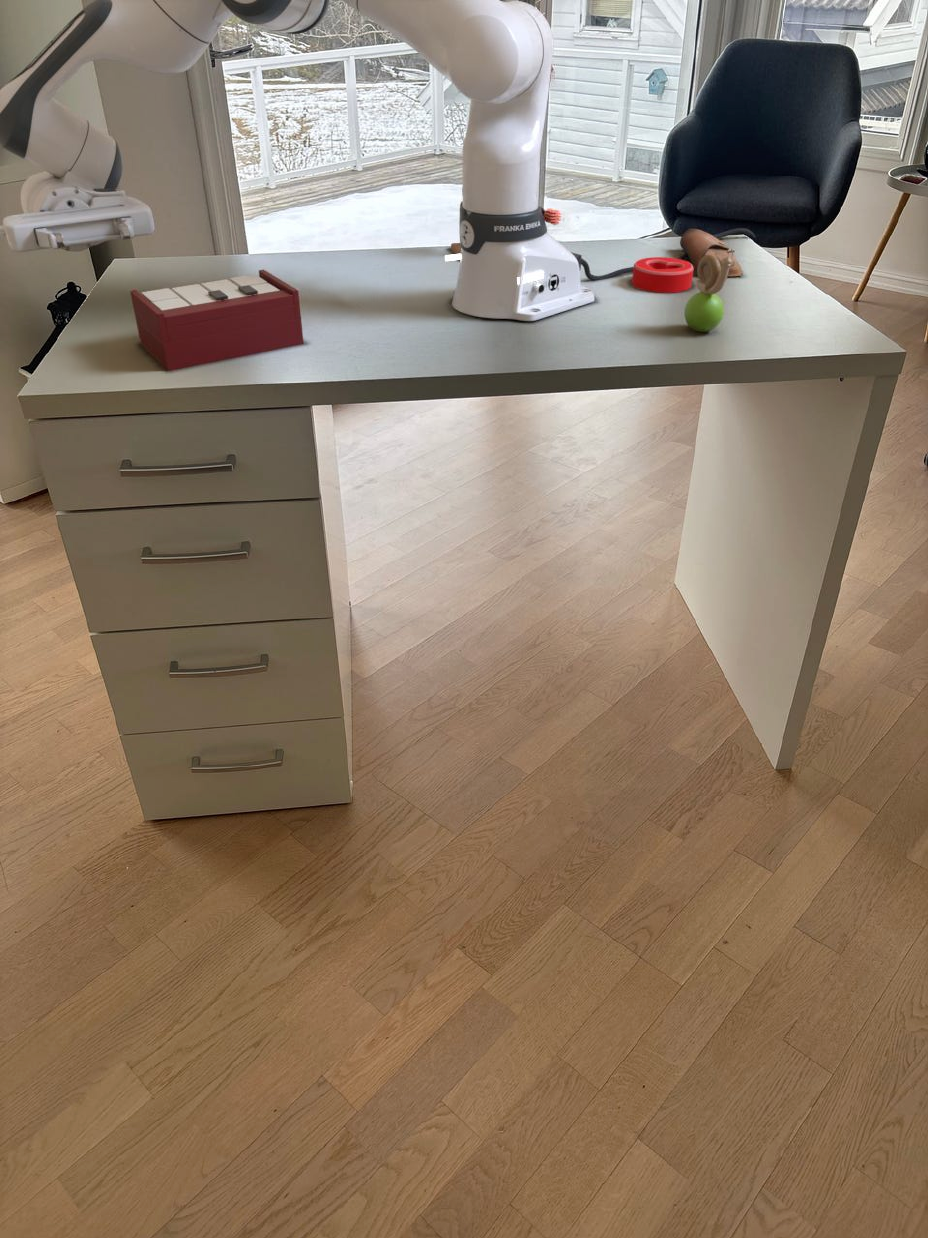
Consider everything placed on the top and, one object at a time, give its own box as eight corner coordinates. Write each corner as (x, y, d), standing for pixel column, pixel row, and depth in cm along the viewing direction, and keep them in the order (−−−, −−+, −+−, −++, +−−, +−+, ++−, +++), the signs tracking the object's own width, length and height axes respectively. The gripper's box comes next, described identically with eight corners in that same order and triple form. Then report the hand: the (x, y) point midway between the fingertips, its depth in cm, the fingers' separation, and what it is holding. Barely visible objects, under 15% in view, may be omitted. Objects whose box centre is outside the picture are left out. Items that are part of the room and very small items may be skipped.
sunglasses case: (747, 273, 156) (732, 237, 152) (707, 295, 158) (692, 260, 154) (724, 246, 170) (710, 213, 167) (689, 266, 172) (674, 234, 169)
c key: (256, 283, 134) (254, 273, 133) (268, 291, 131) (267, 281, 130) (231, 287, 132) (229, 277, 131) (242, 295, 129) (241, 285, 128)
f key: (170, 297, 128) (168, 287, 127) (180, 306, 125) (179, 295, 124) (142, 302, 127) (140, 292, 126) (153, 311, 124) (151, 300, 123)
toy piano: (270, 320, 138) (263, 269, 133) (303, 344, 129) (298, 290, 125) (141, 344, 129) (129, 290, 125) (168, 371, 121) (157, 314, 117)
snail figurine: (702, 341, 130) (716, 251, 123) (674, 327, 135) (685, 241, 128) (733, 335, 132) (748, 247, 125) (703, 322, 137) (716, 236, 130)
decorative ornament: (631, 291, 150) (633, 270, 148) (632, 274, 157) (634, 255, 156) (692, 294, 148) (694, 273, 146) (690, 277, 156) (693, 257, 154)
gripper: (-13, 203, 131) (7, 222, 122) (132, 187, 140) (161, 204, 131) (0, 250, 135) (20, 272, 125) (140, 231, 144) (169, 250, 134)
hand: (93, 237), depth 128 cm, fingers open, 8 cm apart
